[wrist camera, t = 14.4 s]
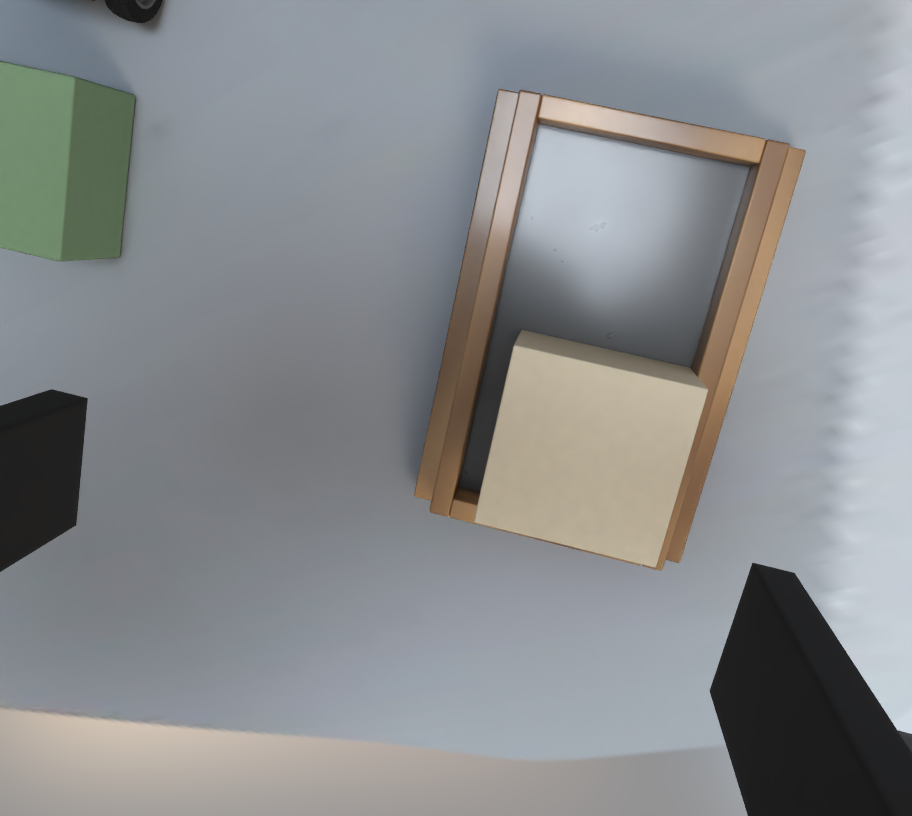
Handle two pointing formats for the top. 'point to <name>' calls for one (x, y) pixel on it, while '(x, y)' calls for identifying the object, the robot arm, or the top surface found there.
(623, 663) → the top surface
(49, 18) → the top surface
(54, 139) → the sage block
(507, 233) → the frame
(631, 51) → the top surface
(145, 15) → the toy car
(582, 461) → the beige block
